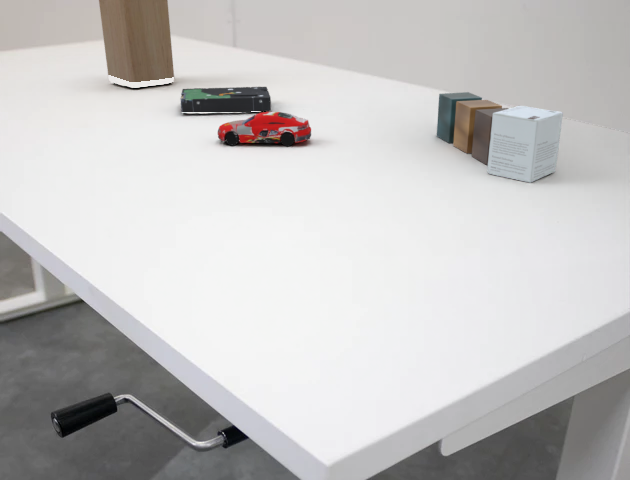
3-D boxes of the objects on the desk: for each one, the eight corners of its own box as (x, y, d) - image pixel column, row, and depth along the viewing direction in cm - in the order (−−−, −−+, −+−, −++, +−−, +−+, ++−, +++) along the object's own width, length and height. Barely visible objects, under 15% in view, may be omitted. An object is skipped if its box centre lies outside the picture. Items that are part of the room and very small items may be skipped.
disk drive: (267, 102, 134) (182, 103, 133) (266, 86, 133) (181, 87, 131) (271, 113, 125) (181, 115, 123) (271, 96, 124) (179, 98, 122)
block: (107, 84, 152) (93, -25, 143) (150, 78, 158) (139, -27, 149) (132, 90, 145) (120, -24, 137) (176, 84, 151) (167, -25, 143)
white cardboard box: (511, 164, 95) (518, 104, 92) (556, 172, 91) (564, 111, 88) (485, 174, 91) (491, 112, 88) (531, 183, 87) (538, 119, 84)
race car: (214, 146, 105) (212, 117, 103) (222, 137, 110) (220, 109, 108) (308, 147, 104) (308, 117, 102) (312, 138, 108) (312, 109, 107)
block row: (519, 162, 96) (524, 114, 93) (486, 165, 95) (491, 116, 92) (465, 134, 110) (468, 92, 107) (436, 136, 109) (439, 93, 107)
